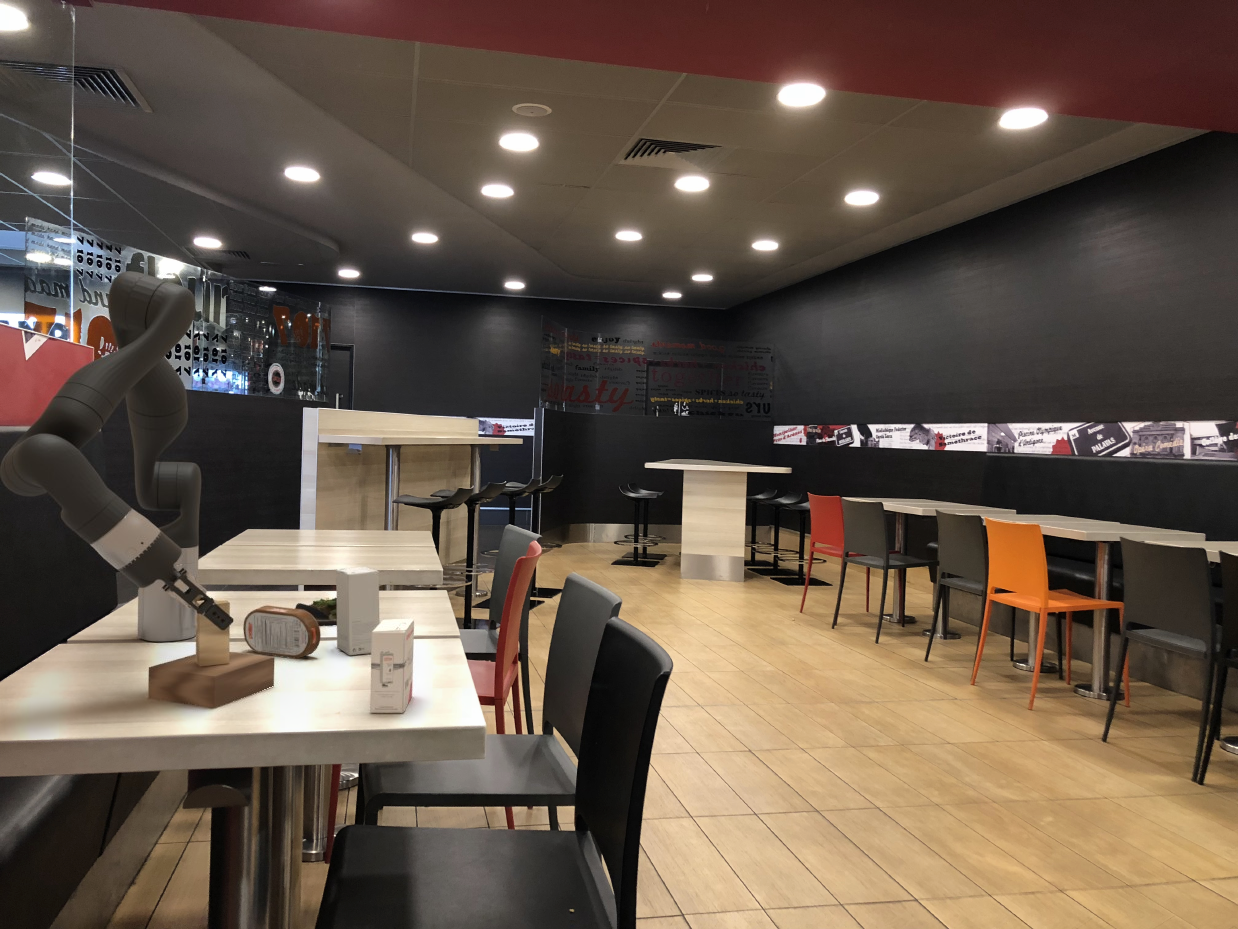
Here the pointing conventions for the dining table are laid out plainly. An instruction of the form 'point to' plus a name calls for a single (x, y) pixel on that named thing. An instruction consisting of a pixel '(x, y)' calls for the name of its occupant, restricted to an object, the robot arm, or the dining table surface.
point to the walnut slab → (210, 680)
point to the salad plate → (322, 611)
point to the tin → (281, 631)
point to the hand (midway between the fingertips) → (222, 620)
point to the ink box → (392, 666)
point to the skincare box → (357, 608)
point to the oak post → (212, 639)
